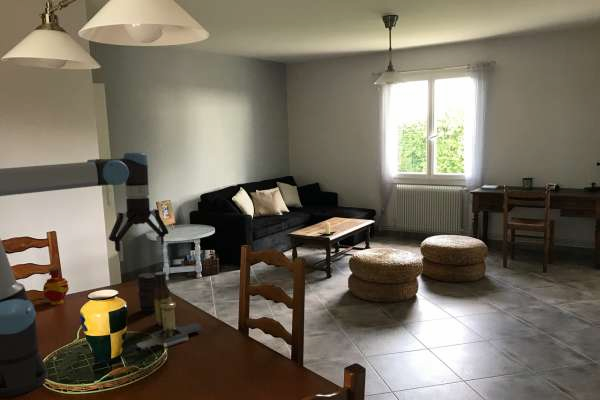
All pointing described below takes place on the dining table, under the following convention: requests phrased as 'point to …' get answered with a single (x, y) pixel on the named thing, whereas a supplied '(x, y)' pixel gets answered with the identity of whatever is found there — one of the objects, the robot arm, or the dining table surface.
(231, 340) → the dining table surface
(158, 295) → the sauce bottle
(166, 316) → the pin
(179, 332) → the dark grey flat piece
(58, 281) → the potion bottle
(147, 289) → the camera lens
